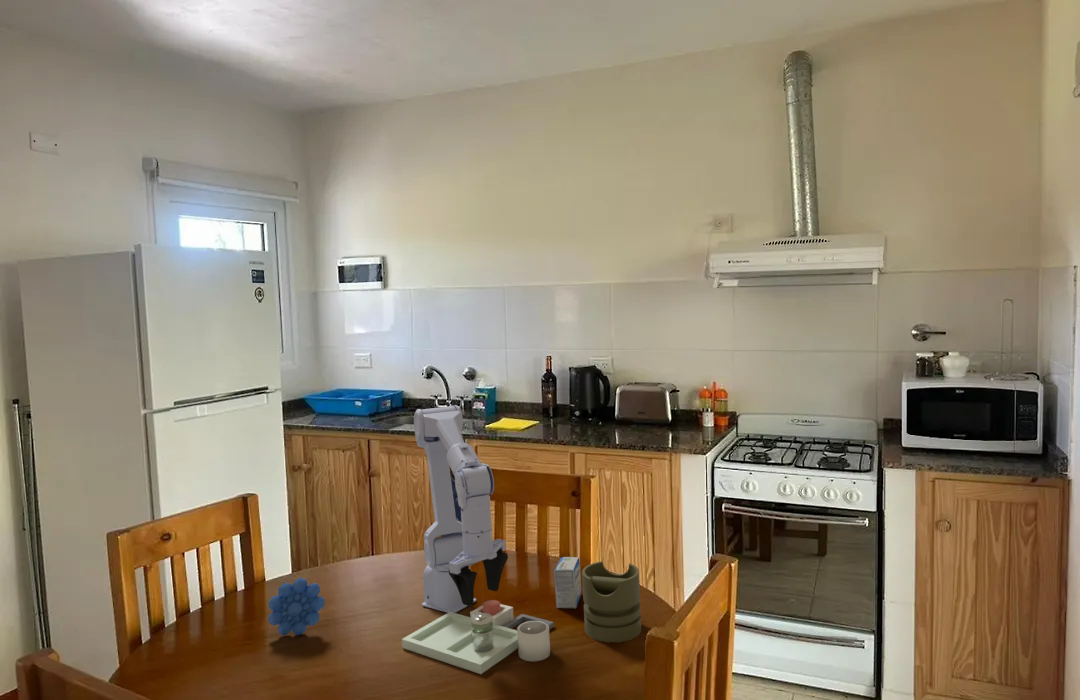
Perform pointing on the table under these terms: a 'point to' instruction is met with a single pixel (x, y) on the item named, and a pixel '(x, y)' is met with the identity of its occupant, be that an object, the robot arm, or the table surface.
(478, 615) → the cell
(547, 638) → the cup
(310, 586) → the blue flower
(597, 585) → the piston
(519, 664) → the table surface
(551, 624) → the cradle
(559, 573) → the medicine box
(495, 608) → the button
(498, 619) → the frame
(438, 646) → the trough tray
